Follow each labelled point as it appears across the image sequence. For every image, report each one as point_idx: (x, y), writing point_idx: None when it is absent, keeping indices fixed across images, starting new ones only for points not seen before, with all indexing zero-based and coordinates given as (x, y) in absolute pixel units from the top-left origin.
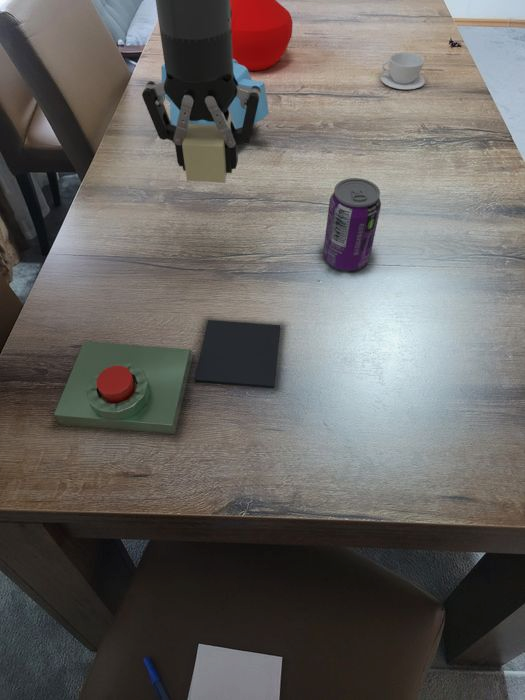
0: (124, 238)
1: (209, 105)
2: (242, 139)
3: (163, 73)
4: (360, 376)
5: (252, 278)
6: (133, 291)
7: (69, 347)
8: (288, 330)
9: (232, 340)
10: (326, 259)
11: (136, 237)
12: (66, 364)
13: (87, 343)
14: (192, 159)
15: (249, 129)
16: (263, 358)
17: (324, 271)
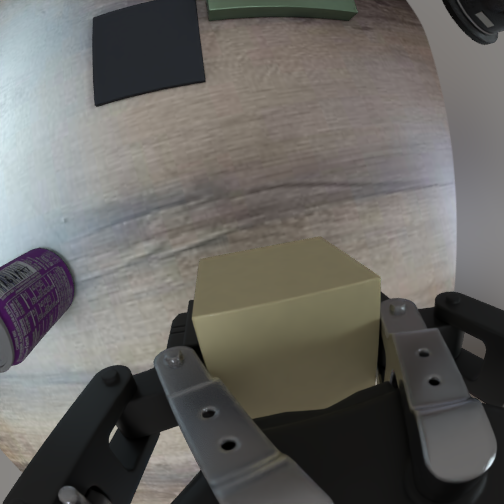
0: (392, 234)
1: (288, 488)
2: (121, 374)
3: None
4: (8, 80)
5: (161, 194)
6: (342, 122)
7: (372, 27)
8: (85, 107)
9: (157, 55)
10: (61, 261)
11: (377, 241)
12: (362, 6)
13: (351, 9)
14: (320, 263)
15: (81, 408)
16: (109, 44)
17: (63, 244)
